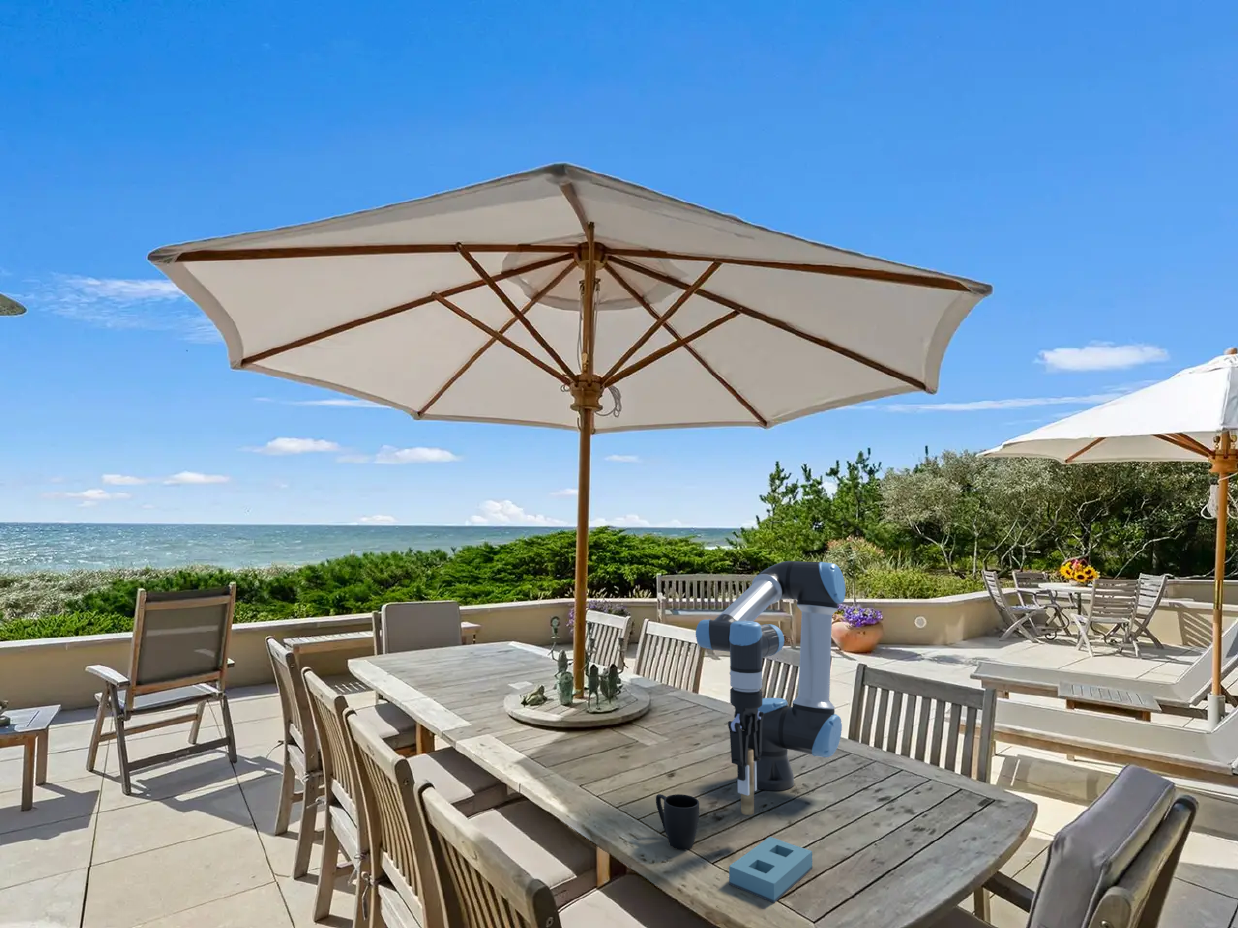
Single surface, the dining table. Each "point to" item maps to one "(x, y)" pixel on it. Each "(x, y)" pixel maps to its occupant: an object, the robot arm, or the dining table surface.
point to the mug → (679, 819)
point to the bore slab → (770, 869)
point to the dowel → (748, 801)
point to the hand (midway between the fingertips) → (747, 790)
